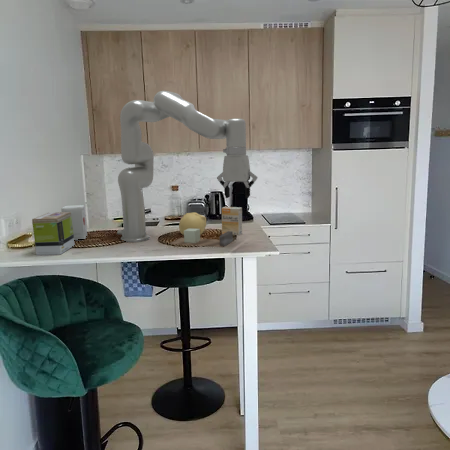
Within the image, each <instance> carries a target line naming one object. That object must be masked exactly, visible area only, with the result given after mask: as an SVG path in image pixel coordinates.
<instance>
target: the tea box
mask: <svg viewBox="0 0 450 450" xmlns="http://www.w3.org/2000/svg"><path fill="white" fill-rule="evenodd" d="M31 221H32V222H31V223H32V230H33V238H34V239H33V240H34V245H35V246H34V247H35V254H36V256H57V255H58V256H59V255H62V254H63V253H65V252H66V251H68V250H70V249H71V248H73V247H75V246H76V243H75V241H74V234H73V225H72V217H71V212H62V211H61V212H60V211H59V212H46V213H44V214H41V215H40V216H39V215H38V216H37V217H34V218H32V220H31ZM74 245H75V246H74ZM72 246H73V247H72Z"/></svg>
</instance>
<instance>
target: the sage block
mask: <svg viewBox="0 0 450 450" xmlns="http://www.w3.org/2000/svg"><path fill="white" fill-rule="evenodd" d="M183 238H184V243H197V242H199V241H200V239H201V234H200V229H192V228H189V229H186V230H184V235H183Z"/></svg>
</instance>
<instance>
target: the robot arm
mask: <svg viewBox="0 0 450 450" xmlns="http://www.w3.org/2000/svg"><path fill="white" fill-rule="evenodd" d="M119 117H120V119H119V120H120V121H119V122H120V155H121V157H120V158H121V160H122V161H123V162H124V164H127V165H134V166H133V167H127V168H124V169H122V170H121V171H120V172H119V173H118V176H117V183H118V187H119V191H120V196H121V208H122V211H121V212H122V222H123V229H118V230H117V232H116V234H117V235H121V237H120V241H121V240H124V241H126V242H125V243H138V242H144V241H148V240H150V238H151V237H150V235H149V234H147V230H146V227H147V226H146V213H145V212H146V211H145V198H144V195H143V192H142V190H141V189H144V188H148V187H149V186H151V184H152V183H153V180H154V162H155V161H154V151H153V148H152V147H151V146H150V144H148V143H147V142H146V141H145V142H144V141H143V140H142V138H143V137H142V134H143V133H142V129H141V126H140V123H141V122H142V123H143V122H145V123H157V122H159V121H162V120H165V119H168V118H172V119H174V120H175V121H177V122H180V123H182V124H183V126H185V127H187V128H188V129H189V130H191V131H192V132H193V133H196V134H197V135H199V136H202V137H204V138H206V139H209V140H224V139H226V140H225V142H226V143H225V144H226V146H225V149H223V150H222V152H223V153H225V155H224V156H223V163H222V172H221V173H220V174H219V175H218V176H217V177H216V179H217V181H218V182H219V184H220V186H222V188H223V189H224V196H225V199H228V198H230V197H231V191H230V188H231V187H229V185H230V184H231V183H232V182H233V183H236V182H237V183H238V182H241V183H243V184H244V186H245V188H244V198H245V199H248V198H250V196H251V187H252V186H253V185H254V184H255V182H256V181H257V180H258V176H257V175H255V173H253V172H252V171H251V166H250V165H251V164H250V160H249V159H250V158H249V156H248V154H247V133H246V132H247V131H246V129H247V128H246V127H247V126H246V125H247V124H246V120H245V119H244V118H230V119H220V118H212V117H210V116H208V115H206V114H203V113H202V112H200V111H198V110H197V109H196V108H195V105H194V104H193V103H192V102H189V101H188V100H185V99H183V97H182V96H181V95H180V94H179V93H178V92H174V91H171V90H170V91H169V90H160V91H157V93H156V94H155V95H154V97H153V101H147V100H142V99H134V100H130V101H129V102H127V103H125V104H124V106H123V107H122V108H121V110H120V116H119ZM251 178H252V179H251ZM249 180H250V181H249ZM124 241H123V242H124Z"/></svg>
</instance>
